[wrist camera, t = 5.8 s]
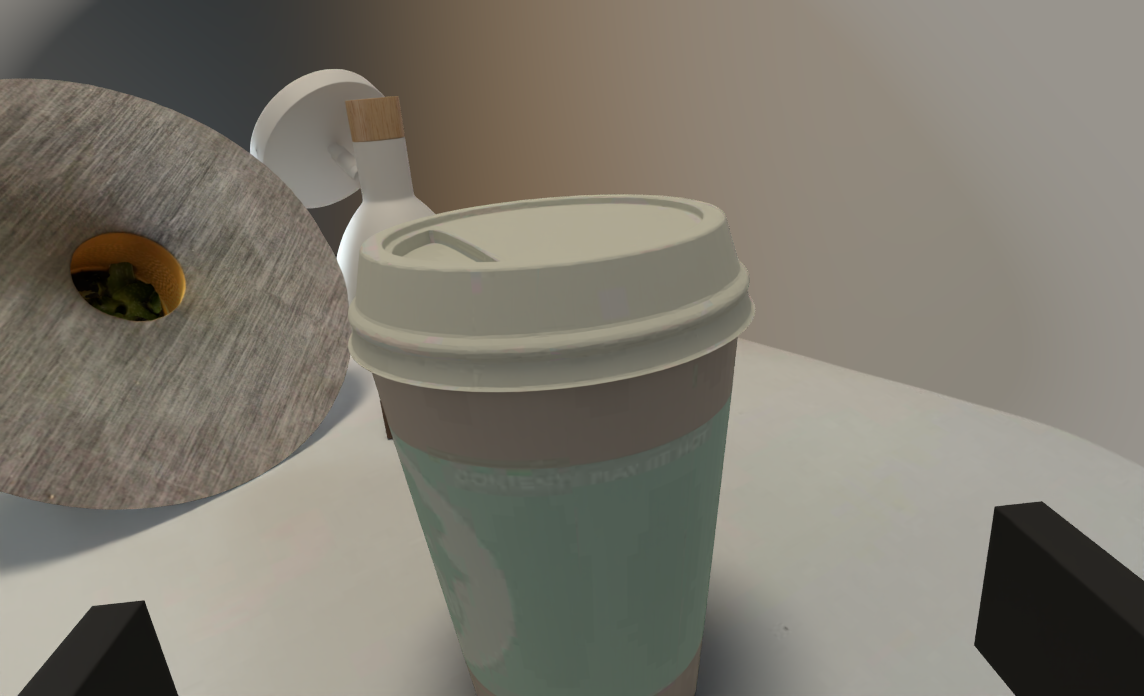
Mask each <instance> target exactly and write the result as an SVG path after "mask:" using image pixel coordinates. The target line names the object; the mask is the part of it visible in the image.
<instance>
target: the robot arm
mask: <svg viewBox="0 0 1144 696" xmlns="http://www.w3.org/2000/svg"><path fill="white" fill-rule="evenodd" d="M974 646H975V647H976V648H977V649H978V651H979V652H980V653H981V654H982V655H983V657H984V658H985V659H986V660H987V661H988V663H989V664H990V665H991V666H992V668H993V669H994V670H995V671H996V672H997V674H998V675H999V676H1000V677H1001V679H1002V680H1003V681H1004V682H1005V683H1006V685H1007V686H1008V687H1009V688H1010V689H1011V691H1012V692H1013V693H1014V694H1015V696H1144V581H1143V580H1142V579H1141V578H1139V577H1138V576H1137V575H1136V574H1134V573H1133V572H1132V571H1130V570H1129V569H1128V568H1127V567H1125V566H1124V565H1123V564H1121V563H1120V562H1119V561H1118V560H1116V559H1115V558H1114V557H1112V556H1111V555H1110V554H1109V553H1107V552H1106V551H1105V550H1104V549H1102V548H1101V547H1100V546H1098V545H1097V544H1096V543H1095V542H1093V541H1092V540H1091V539H1089V538H1088V537H1087V536H1086V535H1084V534H1083V533H1082V532H1081V531H1079V530H1078V529H1077V528H1075V527H1074V526H1073V525H1072V524H1070V523H1069V522H1068V521H1066V520H1065V519H1064V518H1063V517H1061V516H1060V515H1059V514H1057V513H1056V512H1055V511H1054V510H1052V509H1051V508H1050V507H1049V506H1047V505H1046V504H1045V503H1043V502H1042V501H1041V502H1032V503H1023V504H1014V505H1005V506H996V507H995V508H994V515H993V522H992V529H991V535H990V542H989V549H988V555H987V562H986V569H985V576H984V582H983V589H982V596H981V602H980V609H979V616H978V623H977V629H976V636H975V643H974ZM18 696H178V694H177V691H176V688H175V685H174V682H173V680H172V677H171V674H170V671H169V668H168V666H167V663H166V660H165V657H164V654H163V652H162V649H161V646H160V643H159V640H158V637H157V635H156V632H155V629H154V626H153V623H152V621H151V618H150V615H149V612H148V609H147V607H146V604H145V601H135V602H126V603H117V604H108V605H98V606H92V607H91V608H90V609H89V611H88V612H87V613H86V614H85V615H84V617H83V618H82V619H81V620H80V621H79V623H78V624H77V625H76V626H75V627H74V629H73V630H72V631H71V632H70V633H69V635H68V636H67V637H66V638H65V639H64V641H63V642H62V643H61V644H60V645H59V647H58V648H57V649H56V650H55V651H54V653H53V654H52V655H51V656H50V657H49V659H48V660H47V661H46V662H45V663H44V665H43V666H42V667H41V668H40V669H39V671H38V672H37V673H36V674H35V675H34V677H33V678H32V679H31V680H30V681H29V683H28V684H27V685H26V686H25V687H24V689H23V690H22V691H21V692H20V693H19V695H18Z"/></svg>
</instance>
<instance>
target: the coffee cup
mask: <svg viewBox="0 0 1144 696" xmlns="http://www.w3.org/2000/svg"><path fill="white" fill-rule="evenodd" d="M749 282H750V278H749V274H748V271H747V269H746V267H745V266H744V265H743V264H742V263H741V262H740V261H739V260H738V258H737V254H736V251H735V247H734V243H733V240H732V236H731V233H730V229H729V226H728V222H727V219H726V215H725V214H724V212H723V211H722V210H721V209H720V208H718V207H716V206H714V205H711V204H708V203H705V202H701V201H697V200H692V199H686V198H679V197H670V196H654V195H586V196H568V197H552V198H541V199H531V200H521V201H514V202H505V203H497V204H490V205H484V206H477V207H471V208H466V209H460V210H455V211H449V212H445V213H440V214H436V215H431V216H427V217H423V218H419V219H416V220H412V221H409V222H405V223H402V224H399V225H396V226H393V227H391V228H388V229H385V230H383V231H381V232H379V233H377V234H375V235H373V236H371V237H370V238H368V239H367V240H366V241H365V242H364V243H363V244H362V245H361V247H360V250H359V262H358V274H357V287H356V296H355V298H354V299H353V301H352V302H351V304H350V306H349V309H348V320H349V323H350V325H351V327H352V334H351V335H350V338H349V341H348V349H349V352H350V354H351V356H352V358H353V359H354V360H355V361H356V362H357V363H358V364H359V365H360V366H362V367H363V368H365V369H367V370H368V371H370V372H372V374H373V377H374V380H375V383H376V387H377V390H378V393H379V396H380V399H381V402H382V405H383V409H384V412H385V415H386V418H387V422H388V425H389V428H390V431H391V434H392V437H393V440H394V443H395V446H396V449H397V452H398V455H399V459H400V462H401V465H402V468H403V471H404V474H405V477H406V480H407V483H408V486H409V489H410V492H411V495H412V499H413V502H414V505H415V508H416V511H417V514H418V517H419V520H420V523H421V526H422V529H423V532H424V535H425V539H426V542H427V545H428V548H429V551H430V554H431V557H432V560H433V563H434V566H435V569H436V572H437V575H438V578H439V582H440V585H441V588H442V591H443V594H444V597H445V600H446V603H447V606H448V609H449V612H450V615H451V618H452V622H453V625H454V628H455V631H456V634H457V637H458V640H459V643H460V646H461V649H462V652H463V655H464V658H465V661H466V664H467V667H468V670H469V673H470V676H471V679H472V682H473V685H474V688H475V691H476V694H477V696H694V695H695V691H696V685H697V677H698V669H699V662H700V654H701V646H702V638H703V630H704V622H705V614H706V606H707V597H708V589H709V580H710V572H711V563H712V555H713V546H714V538H715V529H716V521H717V512H718V504H719V495H720V487H721V478H722V470H723V461H724V453H725V444H726V436H727V427H728V419H729V410H730V402H731V393H732V383H733V375H734V366H735V357H736V348H737V339H738V336H739V335H740V334H741V333H742V332H743V331H744V330H745V329H746V328H747V327H748V326H749V324H750V323H751V321H752V320H753V317H754V314H755V305H754V302H753V300H752V298H751V297H750V295H749V294H748V291H747V290H748V287H749Z"/></svg>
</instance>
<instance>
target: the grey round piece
mask: <svg viewBox="0 0 1144 696" xmlns="http://www.w3.org/2000/svg"><path fill="white" fill-rule="evenodd" d="M348 309H349V300H348V293H347V287H346V283H345V279H344V276H343V273H342V270H341V268H340V266H339V264H338V261H337V259H336V257H335V255H334V253H333V251H332V250H331V248H330V246H329V245H328V243H327V241H326V239H325V238H324V237H323V235H322V233H321V231H320V229H319V227H318V225H317V224H316V222H315V221H314V219H313V218H312V216H311V215H310V213H309V212H308V210H307V209H306V208H305V206H304V205H303V204H302V202H301V201H300V200H299V199H298V198H297V197H296V196H295V194H294V193H293V191H292V190H291V189H290V188H289V187H288V186H287V185H286V184H285V183H284V182H283V181H282V180H281V179H280V178H279V177H278V176H277V175H276V174H275V173H274V172H273V171H271V170H270V169H269V168H268V167H267V166H266V165H265V164H263V163H262V162H261V161H259V160H258V159H257V158H256V157H254V156H253V155H252V154H250V153H248V152H247V151H246V150H244V149H243V148H241V147H240V146H238V145H237V144H236V143H234V142H232V141H231V140H229V139H228V138H226V137H225V136H223V135H222V134H220V133H218V132H216V131H215V130H213V129H211V128H209V127H208V126H205V125H204V124H201V123H199V122H198V121H196V120H194V119H191V118H189V117H187V116H185V115H183V114H180V113H178V112H176V111H173V110H172V109H169V108H166V107H163V106H161V105H158V104H156V103H153V102H151V101H148V100H145V99H141V98H138V97H135V96H132V95H128V94H124V93H121V92H117V91H113V90H109V89H106V88H101V87H97V86H93V85H87V84H80V83H74V82H65V81H56V80H47V79H2V80H0V491H2V492H5V493H8V494H12V495H16V496H19V497H23V498H27V499H31V500H36V501H41V502H45V503H51V504H57V505H63V506H70V507H79V508H92V509H140V508H152V507H160V506H168V505H174V504H179V503H184V502H189V501H194V500H198V499H202V498H206V497H209V496H212V495H215V494H218V493H221V492H224V491H227V490H229V489H232V488H234V487H237V486H239V485H241V484H243V483H245V482H247V481H250V480H252V479H254V478H255V477H257V476H259V475H261V474H263V473H264V472H266V471H268V470H269V469H271V468H272V467H274V466H276V465H277V464H278V463H280V462H281V461H283V460H284V459H285V458H287V457H288V456H289V455H290V454H292V453H293V452H294V451H295V450H296V449H298V448H299V447H300V446H301V445H302V444H303V443H304V442H305V441H306V440H307V439H308V438H309V437H310V436H311V435H312V433H313V432H314V431H315V430H316V429H317V428H318V426H319V425H320V424H321V422H322V421H323V419H324V418H325V416H326V415H327V413H328V412H329V410H330V408H331V407H332V405H333V403H334V401H335V399H336V397H337V395H338V393H339V390H340V388H341V386H342V383H343V381H344V378H345V375H346V371H347V368H348V363H349V358H350V352H349V349H348V341H349V338H350V335H351V334H352V327H351V325H350V323H349V320H348Z"/></svg>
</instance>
